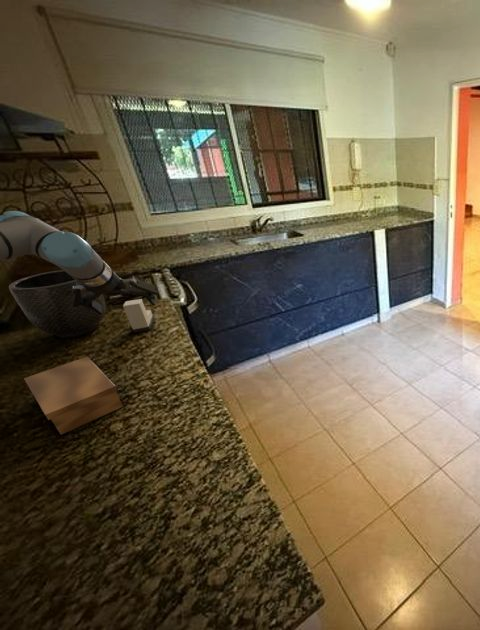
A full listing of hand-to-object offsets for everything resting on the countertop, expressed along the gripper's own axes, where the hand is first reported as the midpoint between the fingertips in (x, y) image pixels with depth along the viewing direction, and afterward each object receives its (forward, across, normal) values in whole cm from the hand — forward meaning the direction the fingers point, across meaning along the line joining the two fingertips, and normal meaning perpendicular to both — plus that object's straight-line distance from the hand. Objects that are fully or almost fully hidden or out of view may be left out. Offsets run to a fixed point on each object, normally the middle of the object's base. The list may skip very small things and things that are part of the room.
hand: (127, 306), depth 109 cm
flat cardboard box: (-16, -7, -32) cm, 36 cm away
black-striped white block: (+14, 0, -1) cm, 14 cm away
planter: (+18, -19, +3) cm, 27 cm away
